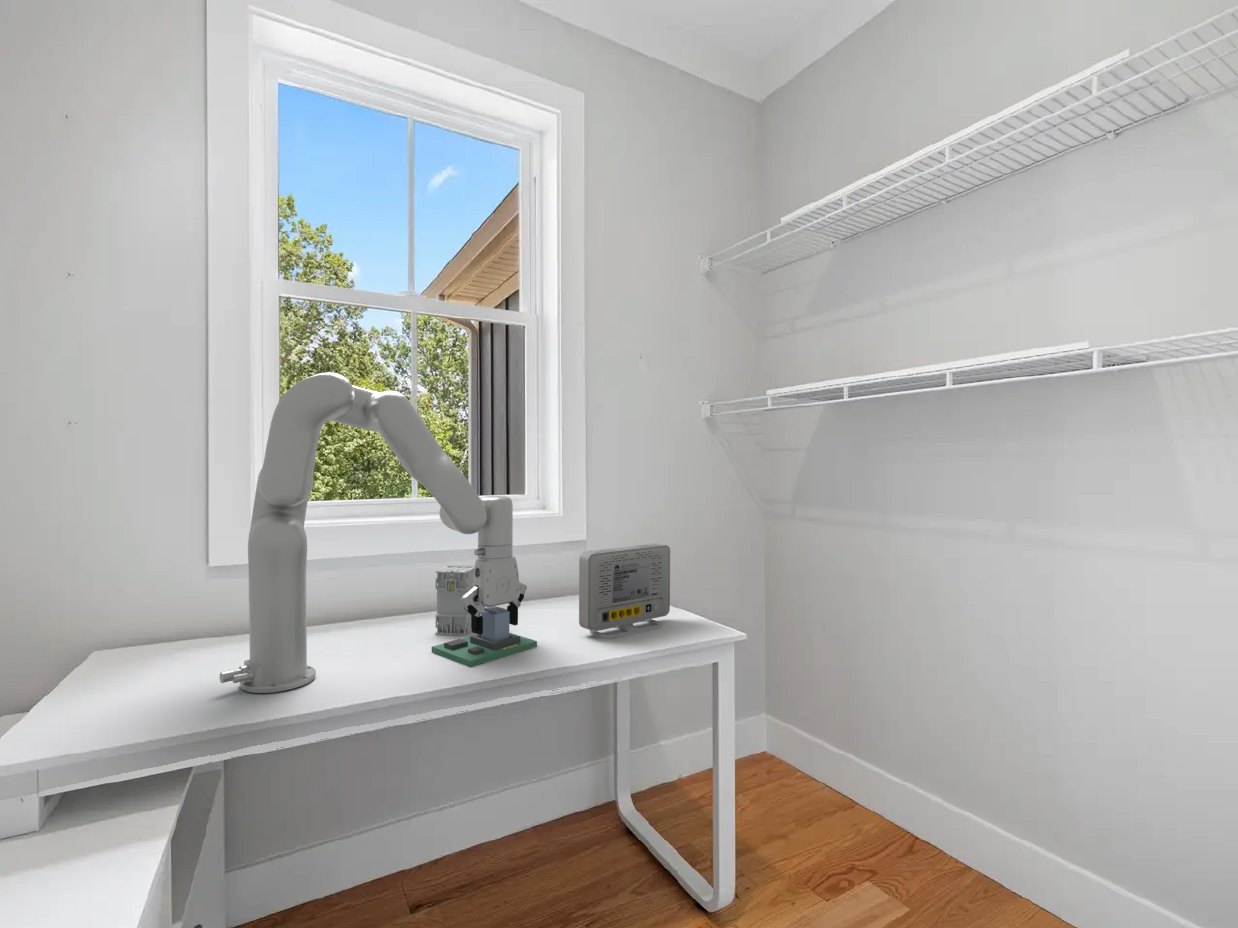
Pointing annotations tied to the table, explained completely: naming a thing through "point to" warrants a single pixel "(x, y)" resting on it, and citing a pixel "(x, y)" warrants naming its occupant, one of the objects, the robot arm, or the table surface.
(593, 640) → the table surface
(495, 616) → the plug
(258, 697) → the table surface
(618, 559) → the network device
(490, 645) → the board
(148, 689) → the table surface
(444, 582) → the circuit breaker
